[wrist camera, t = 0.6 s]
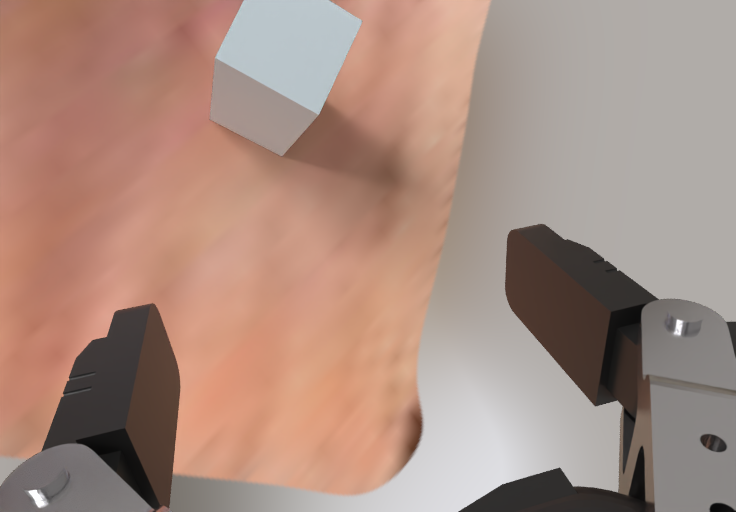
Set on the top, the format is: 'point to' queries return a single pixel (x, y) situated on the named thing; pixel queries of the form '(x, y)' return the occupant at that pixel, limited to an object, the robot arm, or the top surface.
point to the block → (279, 68)
